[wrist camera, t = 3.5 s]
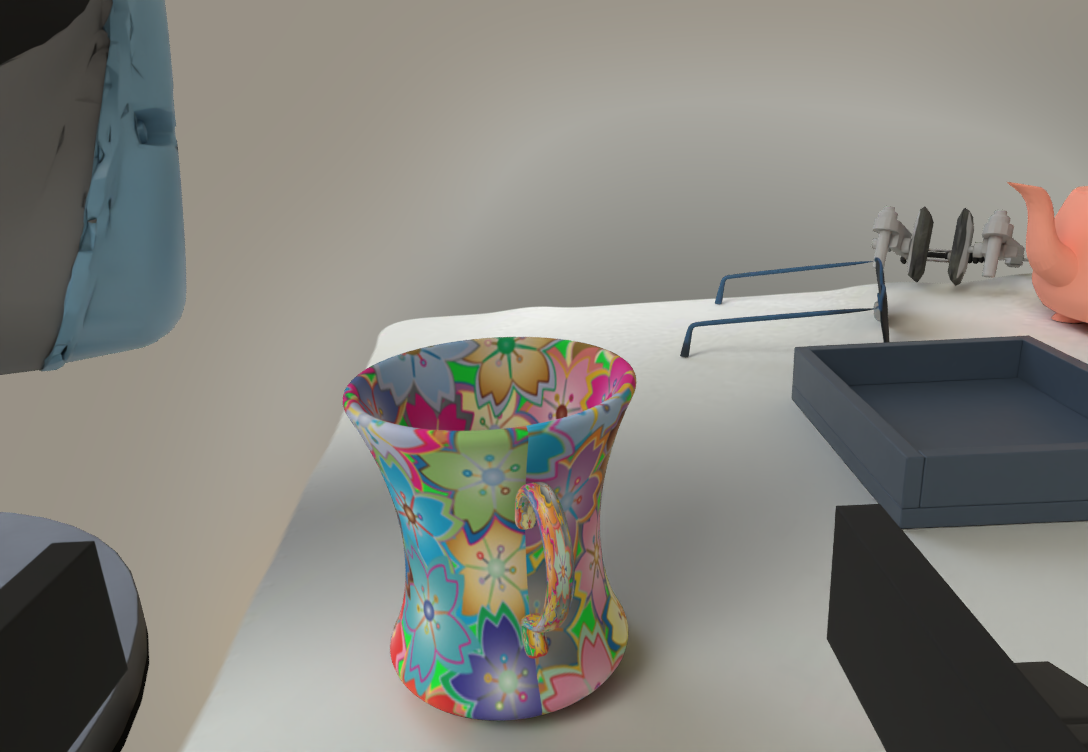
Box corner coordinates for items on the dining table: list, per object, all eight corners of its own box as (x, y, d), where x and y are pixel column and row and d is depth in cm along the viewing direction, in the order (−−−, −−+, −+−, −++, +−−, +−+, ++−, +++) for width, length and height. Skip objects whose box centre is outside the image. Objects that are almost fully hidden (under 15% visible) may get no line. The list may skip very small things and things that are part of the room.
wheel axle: (862, 195, 76) (905, 241, 92) (849, 267, 76) (894, 299, 92) (1028, 200, 68) (1043, 249, 84) (1013, 280, 68) (1030, 313, 85)
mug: (371, 607, 32) (335, 355, 29) (590, 562, 35) (581, 324, 31) (408, 861, 21) (358, 504, 18) (724, 771, 24) (734, 439, 20)
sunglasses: (892, 370, 56) (888, 300, 54) (683, 382, 61) (674, 318, 60) (885, 308, 71) (882, 252, 69) (717, 322, 76) (711, 271, 75)
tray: (899, 529, 36) (906, 457, 35) (791, 398, 52) (794, 346, 50) (1230, 514, 36) (1249, 442, 35) (1020, 387, 51) (1028, 335, 50)
